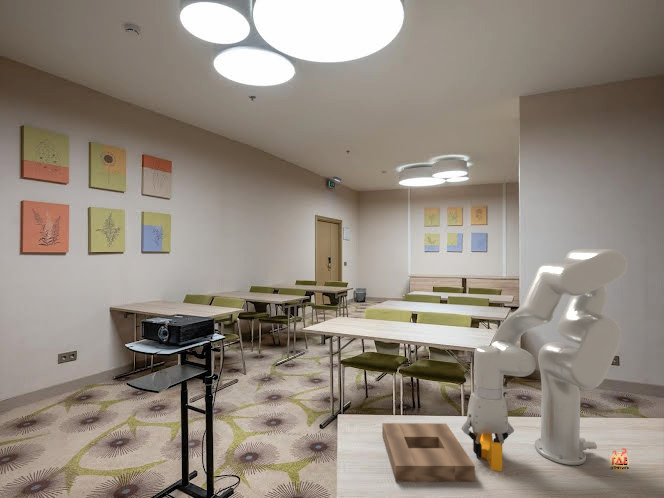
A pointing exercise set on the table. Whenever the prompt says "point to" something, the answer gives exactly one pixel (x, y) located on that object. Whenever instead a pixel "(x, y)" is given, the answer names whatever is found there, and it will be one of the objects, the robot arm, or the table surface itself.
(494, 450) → the orange curved block
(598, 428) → the table surface
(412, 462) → the cutout shelf
